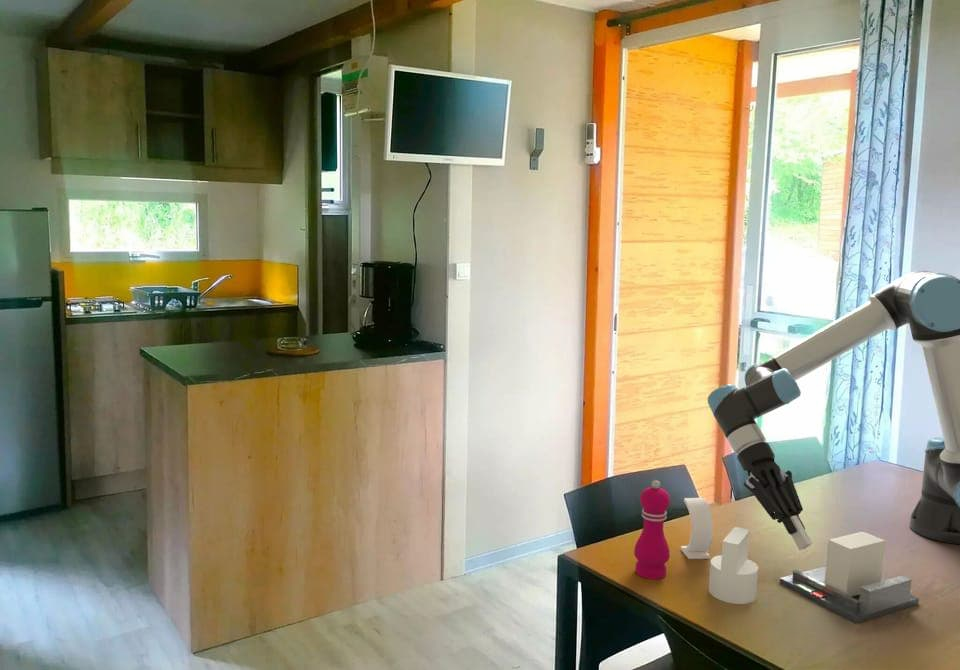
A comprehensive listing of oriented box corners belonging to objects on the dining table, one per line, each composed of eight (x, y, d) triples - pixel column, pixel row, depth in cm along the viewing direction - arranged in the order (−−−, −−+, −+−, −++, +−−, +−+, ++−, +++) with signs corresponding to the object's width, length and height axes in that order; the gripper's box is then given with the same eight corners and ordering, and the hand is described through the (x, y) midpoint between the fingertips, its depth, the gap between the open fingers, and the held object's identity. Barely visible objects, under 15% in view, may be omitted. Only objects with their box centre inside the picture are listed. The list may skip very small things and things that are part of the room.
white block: (854, 576, 165) (859, 530, 163) (879, 588, 160) (885, 540, 158) (820, 585, 160) (825, 538, 159) (845, 598, 155) (850, 549, 154)
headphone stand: (700, 549, 181) (704, 497, 179) (710, 560, 175) (714, 507, 173) (680, 549, 180) (684, 498, 178) (690, 561, 174) (694, 507, 173)
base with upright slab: (749, 608, 154) (754, 548, 152) (702, 595, 158) (706, 537, 157) (760, 590, 161) (765, 533, 160) (715, 578, 166) (719, 523, 164)
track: (839, 567, 173) (841, 542, 172) (918, 604, 157) (921, 576, 156) (779, 583, 165) (781, 557, 164) (856, 623, 149) (859, 594, 148)
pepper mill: (668, 582, 164) (674, 487, 161) (632, 578, 165) (638, 484, 162) (667, 567, 171) (673, 476, 168) (633, 563, 172) (638, 473, 169)
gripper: (762, 453, 187) (815, 548, 175) (720, 460, 181) (772, 559, 169) (782, 437, 182) (838, 534, 170) (740, 443, 176) (795, 544, 164)
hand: (805, 546), depth 169 cm, fingers closed
